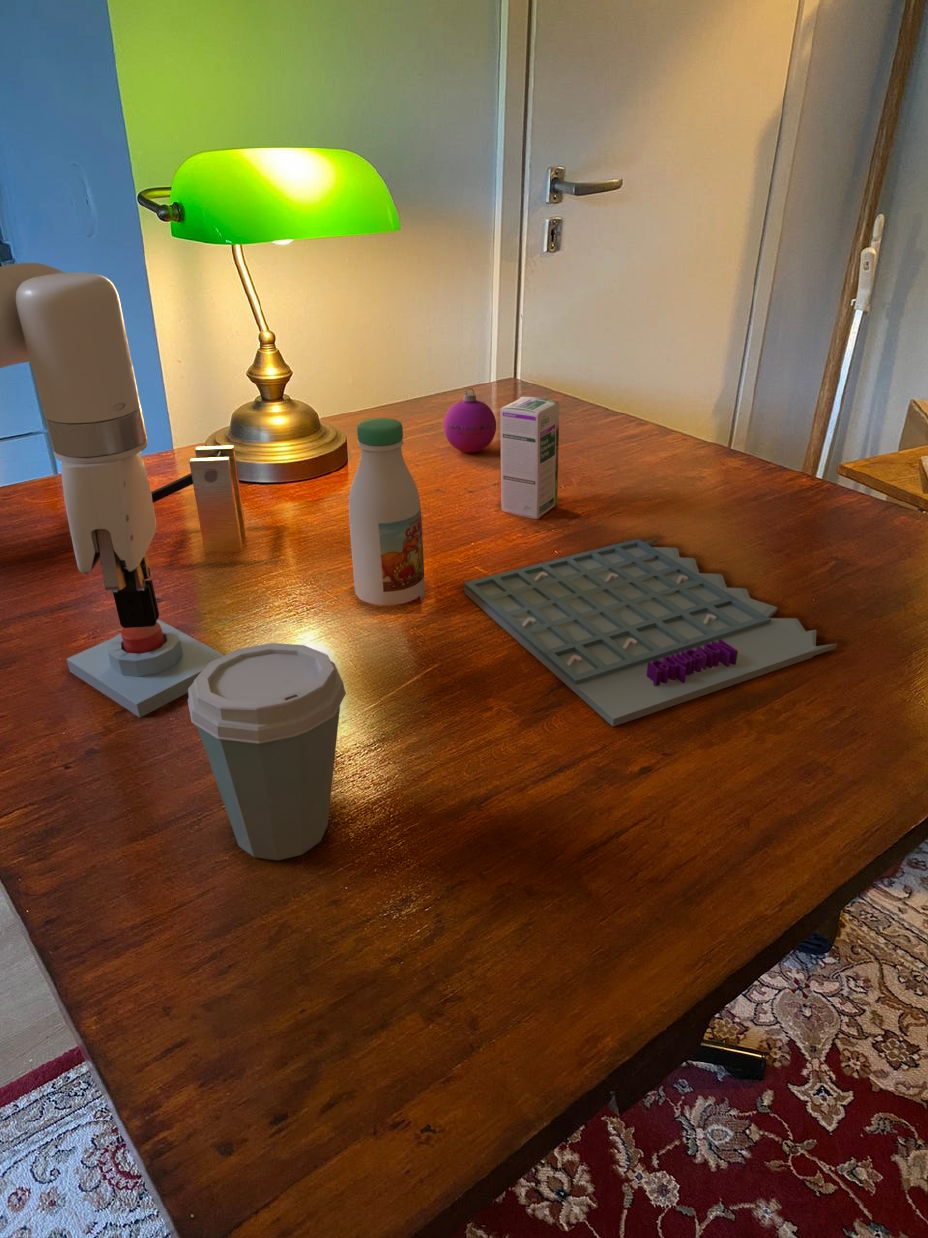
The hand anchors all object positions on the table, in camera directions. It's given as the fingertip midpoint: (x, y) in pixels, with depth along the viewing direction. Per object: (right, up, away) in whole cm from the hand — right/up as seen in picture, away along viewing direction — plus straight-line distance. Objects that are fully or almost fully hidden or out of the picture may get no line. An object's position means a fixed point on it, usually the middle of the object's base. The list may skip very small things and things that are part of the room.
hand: (140, 622), depth 85 cm
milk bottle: (+22, +2, +16) cm, 28 cm away
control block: (0, -5, +3) cm, 6 cm away
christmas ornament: (+31, +27, +58) cm, 71 cm away
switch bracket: (+1, +9, +27) cm, 29 cm away
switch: (-3, +15, +23) cm, 28 cm away
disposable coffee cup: (+17, -16, -16) cm, 28 cm away
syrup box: (+39, +15, +38) cm, 56 cm away
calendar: (+49, 0, +12) cm, 50 cm away
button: (0, -2, +1) cm, 3 cm away
